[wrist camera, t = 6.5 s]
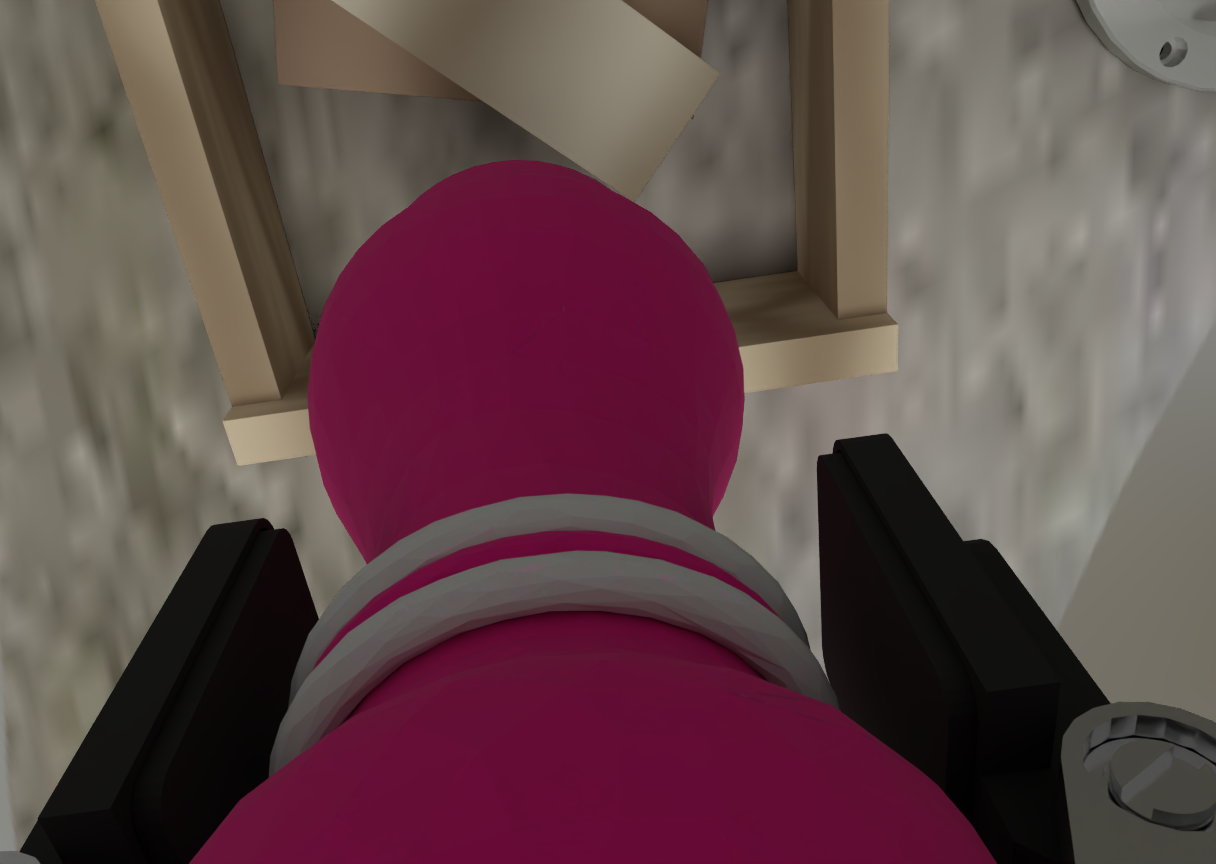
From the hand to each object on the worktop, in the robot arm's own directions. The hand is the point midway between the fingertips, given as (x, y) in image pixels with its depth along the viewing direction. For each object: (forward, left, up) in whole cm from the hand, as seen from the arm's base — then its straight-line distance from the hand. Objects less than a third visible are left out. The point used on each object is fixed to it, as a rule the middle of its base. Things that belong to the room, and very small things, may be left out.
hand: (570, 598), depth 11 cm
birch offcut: (+1, -5, -21) cm, 21 cm away
